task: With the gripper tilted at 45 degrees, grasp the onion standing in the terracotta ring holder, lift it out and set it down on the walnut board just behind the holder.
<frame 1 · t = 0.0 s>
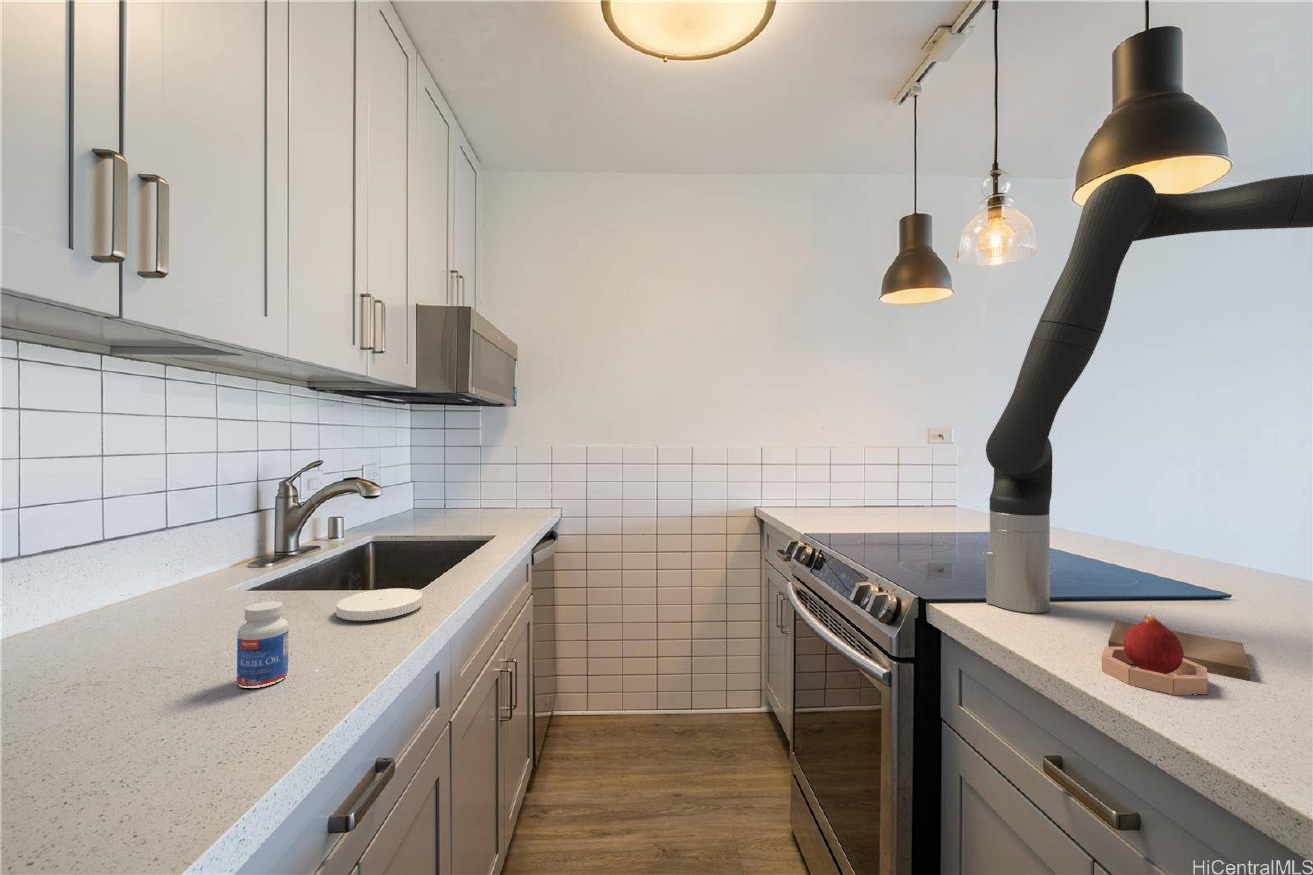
onion: (1152, 678, 71), resting in ring holder
pill bottle: (263, 682, 71), on the worktop
plastic lid: (381, 614, 99), on the worktop
walnut board: (1175, 652, 79), on the worktop
ring holder: (1152, 676, 71), on the worktop
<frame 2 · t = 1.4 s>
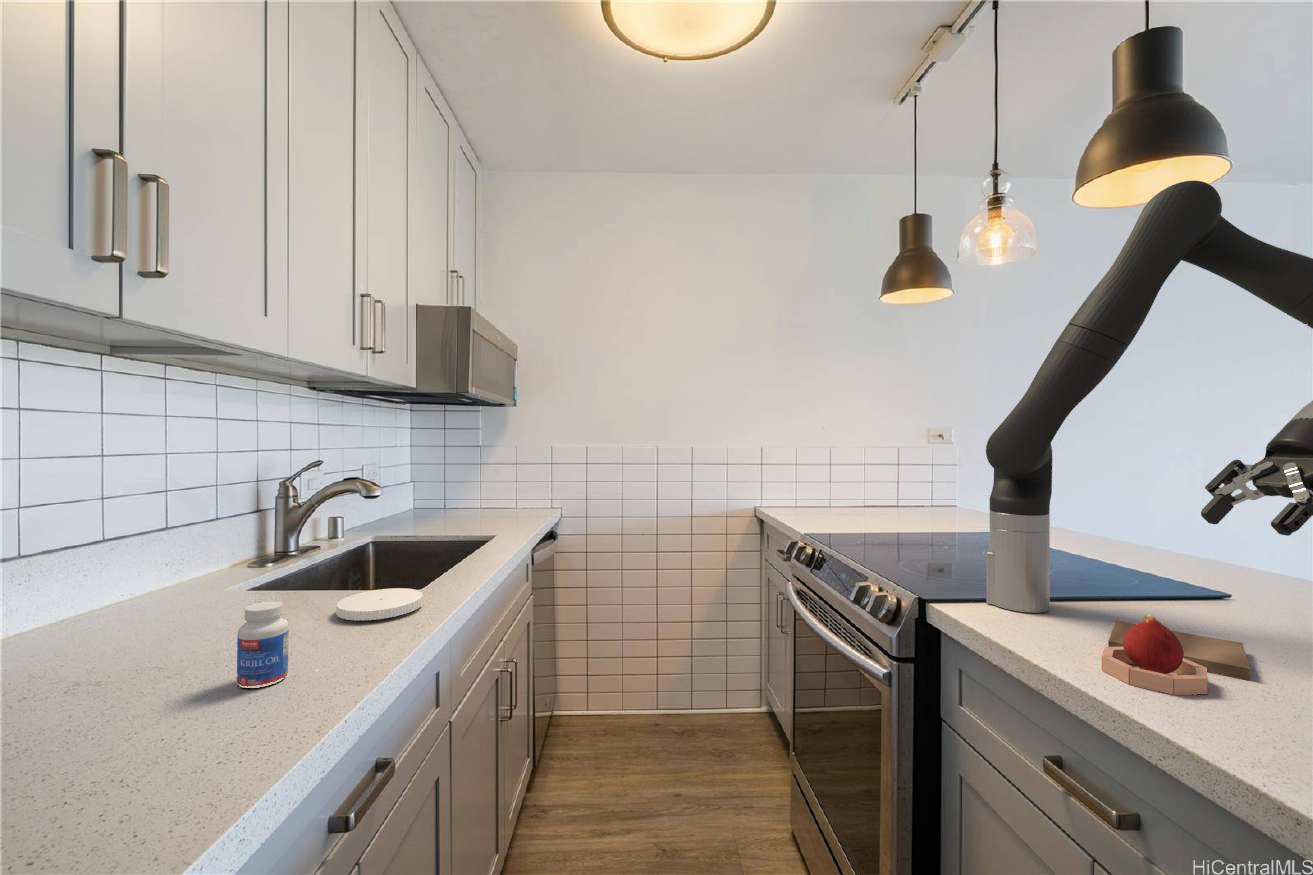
hand: (1241, 525, 72), 20 cm above the worktop, tool tilted 45°, fingers open, 8 cm apart
nothing on the worktop moved.
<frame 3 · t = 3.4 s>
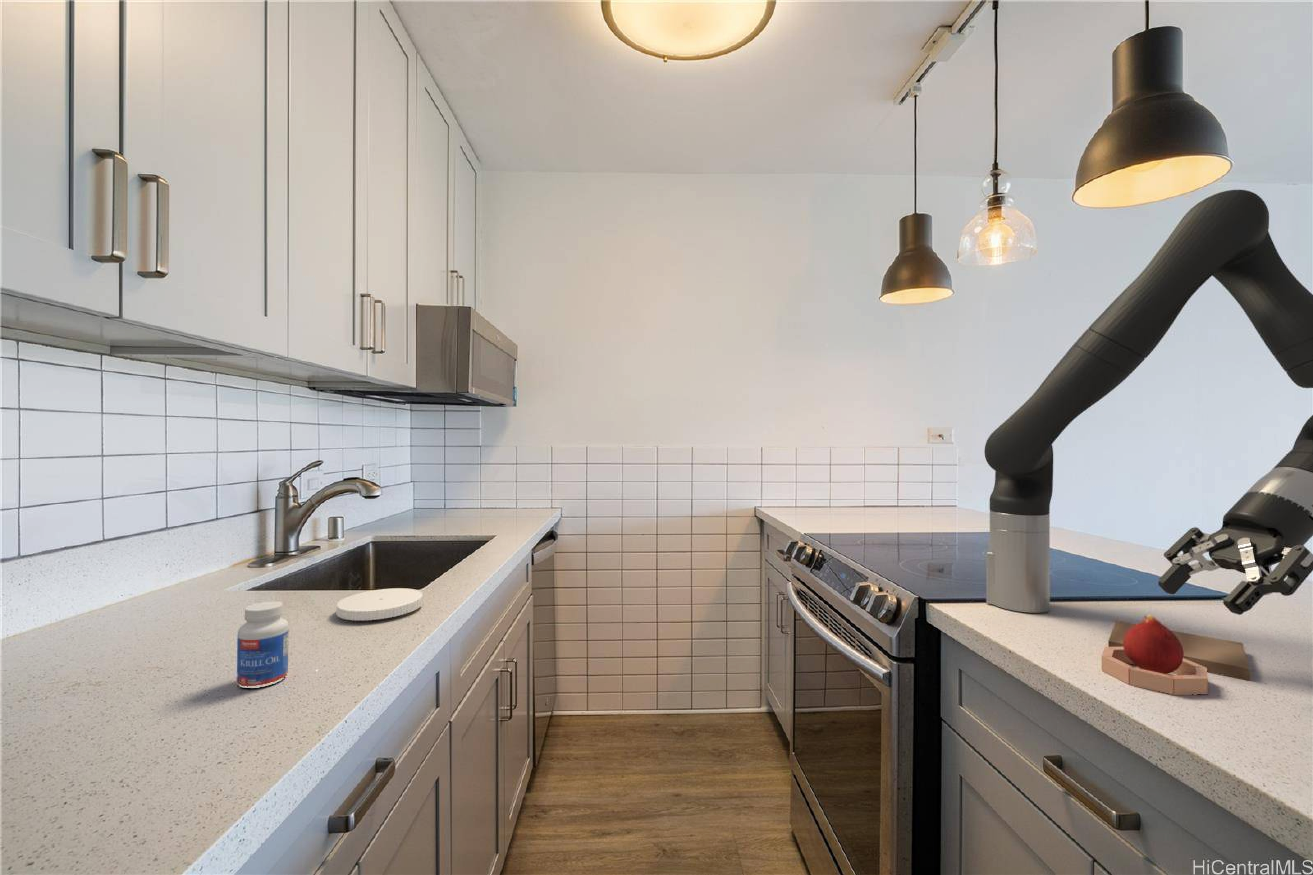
hand: (1195, 598, 71), 10 cm above the worktop, tool tilted 45°, fingers open, 8 cm apart
nothing on the worktop moved.
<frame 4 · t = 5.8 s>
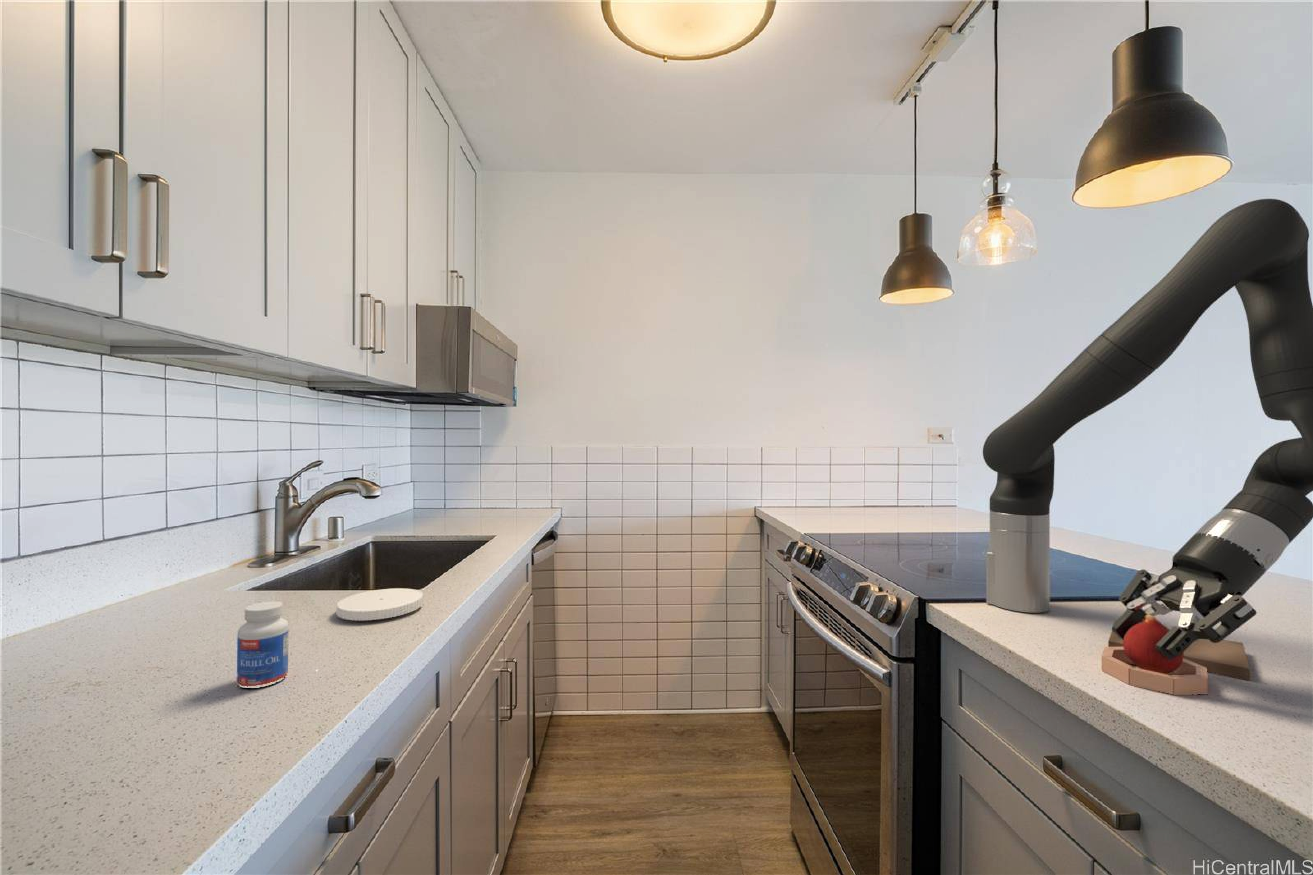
hand: (1139, 644, 71), 4 cm above the worktop, tool tilted 45°, fingers closed on onion, 5 cm apart
onion: (1152, 678, 71), resting in ring holder, touching gripper
everything else where it was.
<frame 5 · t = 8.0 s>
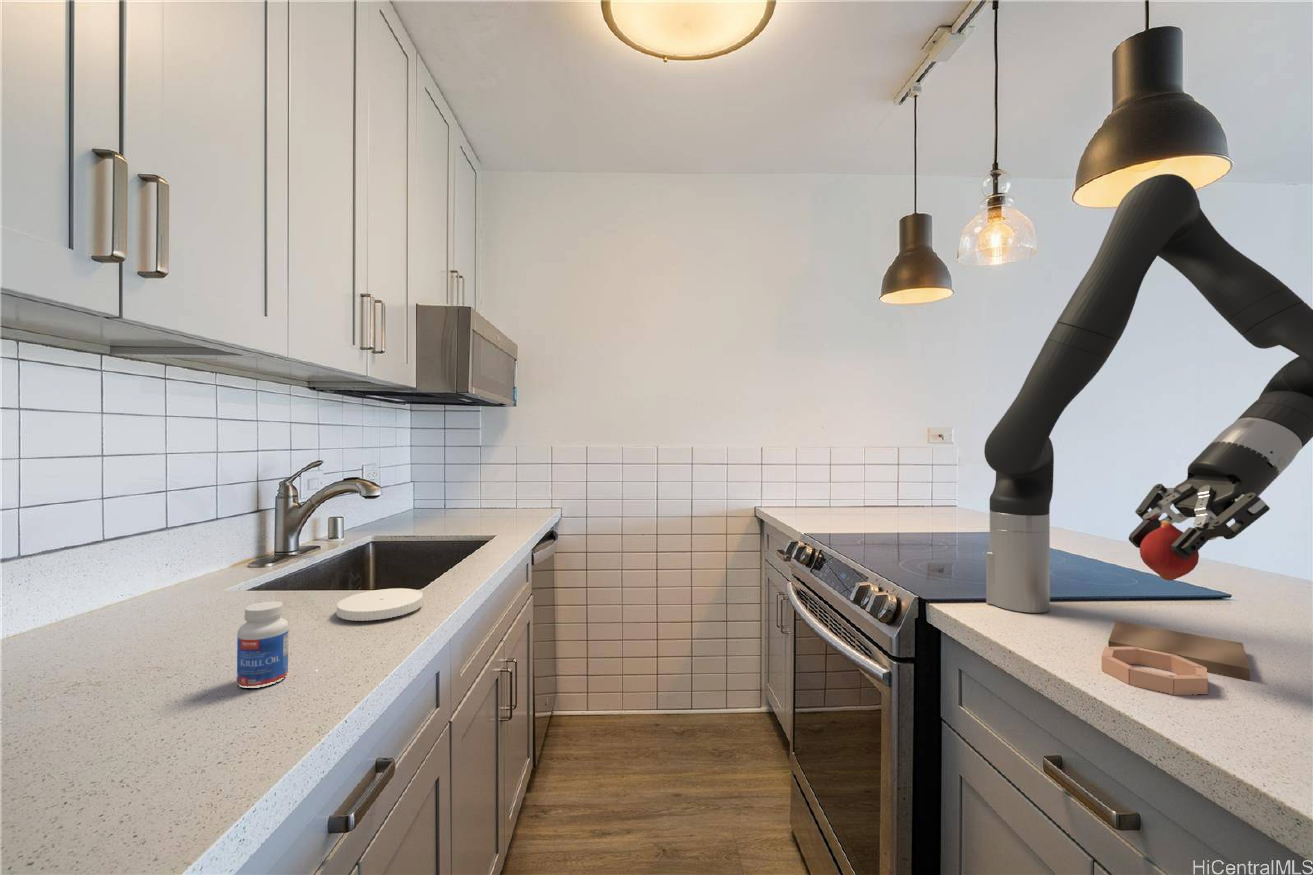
hand: (1155, 548, 74), 16 cm above the worktop, tool tilted 45°, fingers closed on onion, 5 cm apart
onion: (1168, 581, 74), point 12 cm above the worktop, touching gripper
everything else where it was.
when the fingers open (7 cm above the worktop, at t = 10.7 s): onion drops 1 cm, resting on walnut board.
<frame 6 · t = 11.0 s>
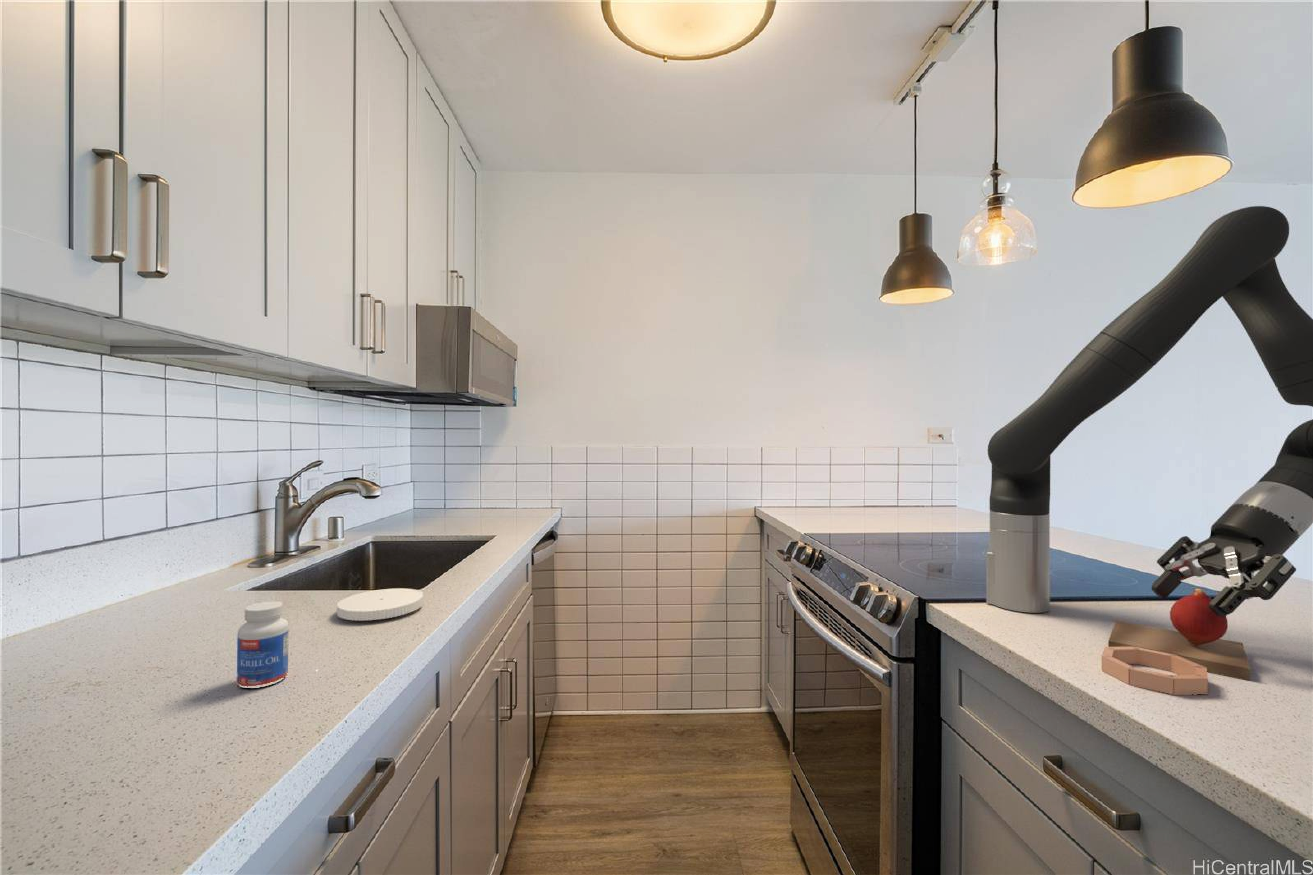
hand: (1184, 602, 78), 8 cm above the worktop, tool tilted 45°, fingers open, 8 cm apart
onion: (1195, 646, 78), point 1 cm above the worktop, touching walnut board
everything else where it was.
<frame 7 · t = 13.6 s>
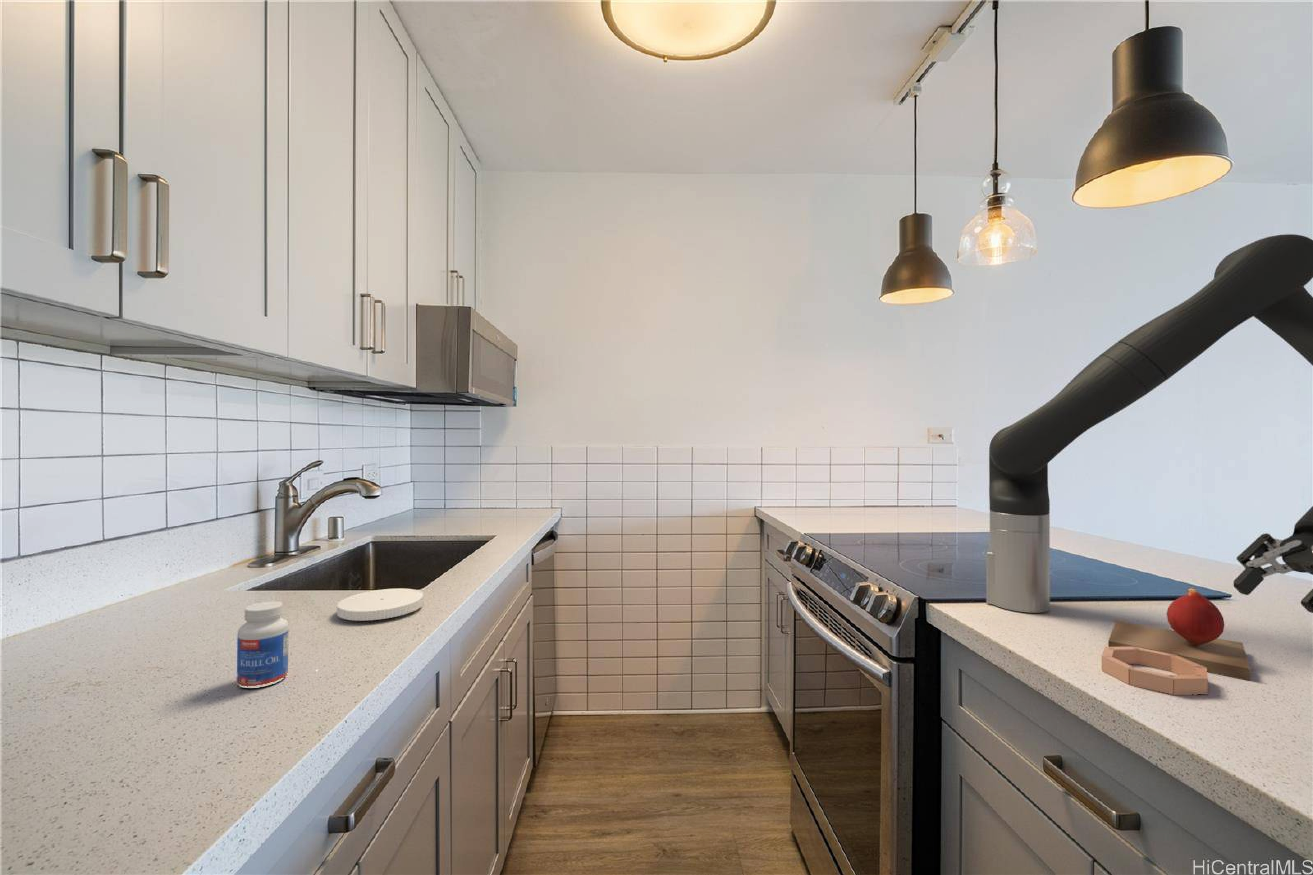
hand: (1272, 599, 78), 8 cm above the worktop, tool tilted 45°, fingers open, 8 cm apart
nothing on the worktop moved.
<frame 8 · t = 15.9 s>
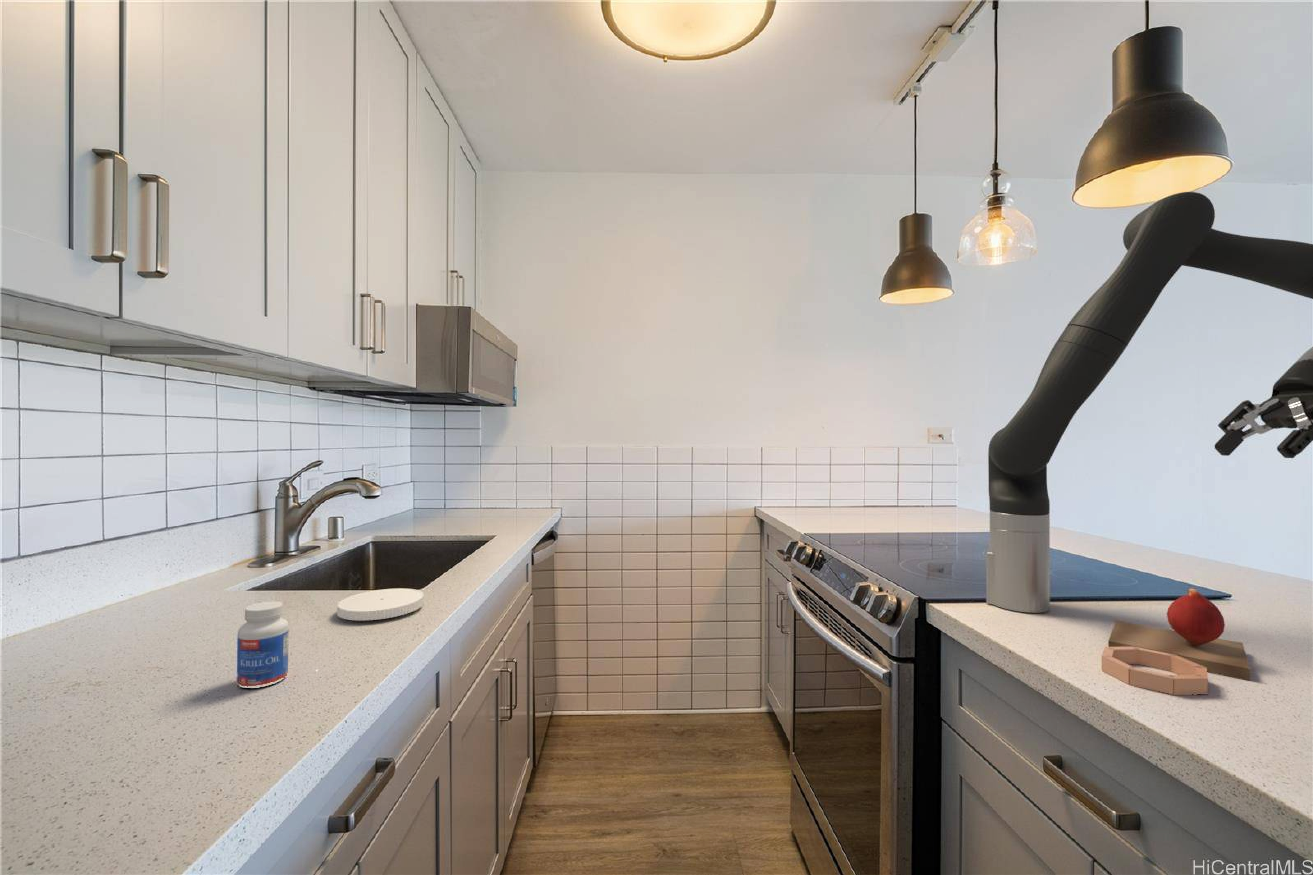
hand: (1250, 452, 82), 29 cm above the worktop, tool tilted 45°, fingers open, 8 cm apart
nothing on the worktop moved.
at the end: onion inside the target area (1.1 cm from its centre), point 1.3 cm above the worktop; the gripper is holding nothing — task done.
